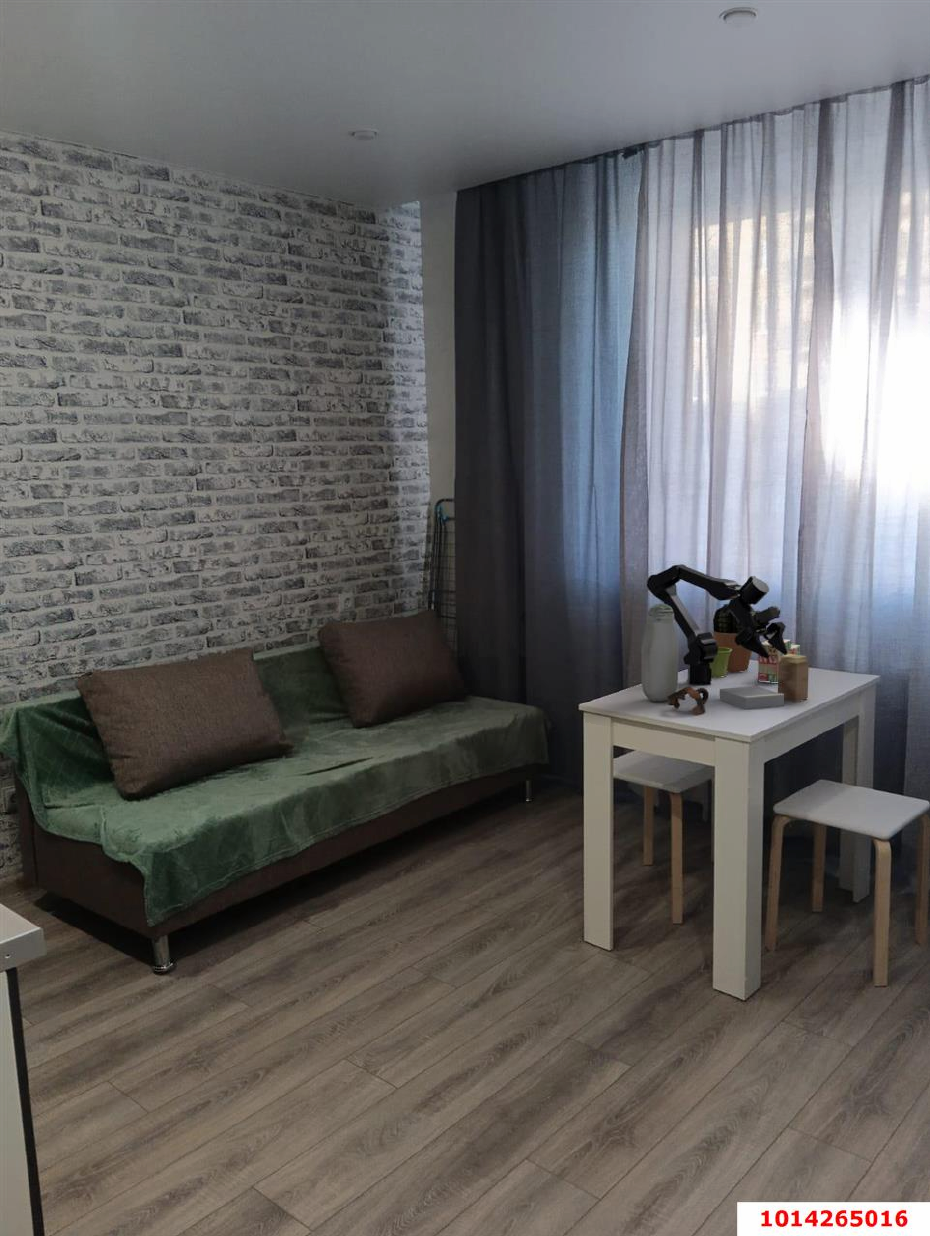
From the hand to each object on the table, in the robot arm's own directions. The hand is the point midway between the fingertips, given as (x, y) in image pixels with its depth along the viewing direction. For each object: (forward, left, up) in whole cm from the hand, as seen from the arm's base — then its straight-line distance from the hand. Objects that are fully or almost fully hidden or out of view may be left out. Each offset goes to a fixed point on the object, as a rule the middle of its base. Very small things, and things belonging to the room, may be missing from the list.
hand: (777, 655), depth 303 cm
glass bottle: (-35, -4, -12) cm, 37 cm away
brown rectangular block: (+4, -4, -12) cm, 13 cm away
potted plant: (-3, +42, -12) cm, 44 cm away
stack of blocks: (+9, +29, -12) cm, 33 cm away
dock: (-9, -8, -12) cm, 17 cm away
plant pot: (-11, +33, -12) cm, 36 cm away
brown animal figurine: (-28, -18, -12) cm, 36 cm away
